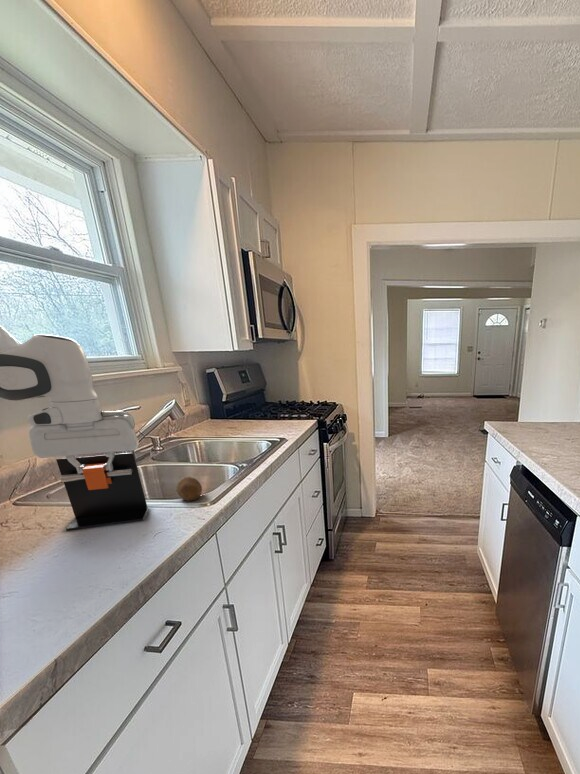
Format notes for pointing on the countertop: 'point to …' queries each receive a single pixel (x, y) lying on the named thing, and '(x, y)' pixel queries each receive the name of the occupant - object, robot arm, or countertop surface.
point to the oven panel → (104, 493)
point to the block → (96, 476)
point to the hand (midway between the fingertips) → (96, 471)
